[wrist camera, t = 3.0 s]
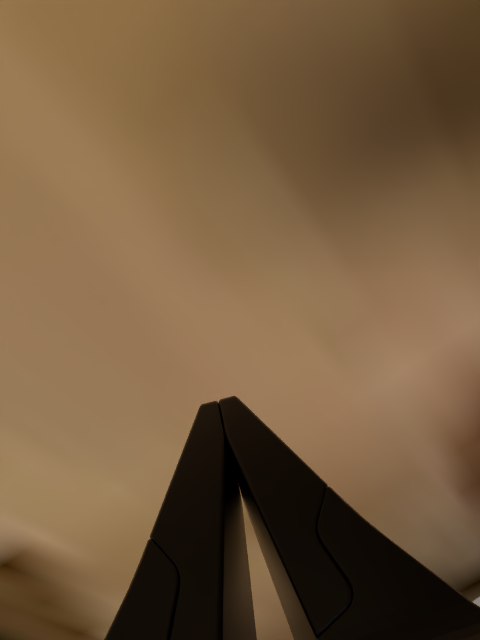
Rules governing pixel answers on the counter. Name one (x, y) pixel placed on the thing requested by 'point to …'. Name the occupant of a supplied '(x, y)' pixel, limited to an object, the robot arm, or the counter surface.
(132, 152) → the counter surface
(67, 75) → the counter surface
